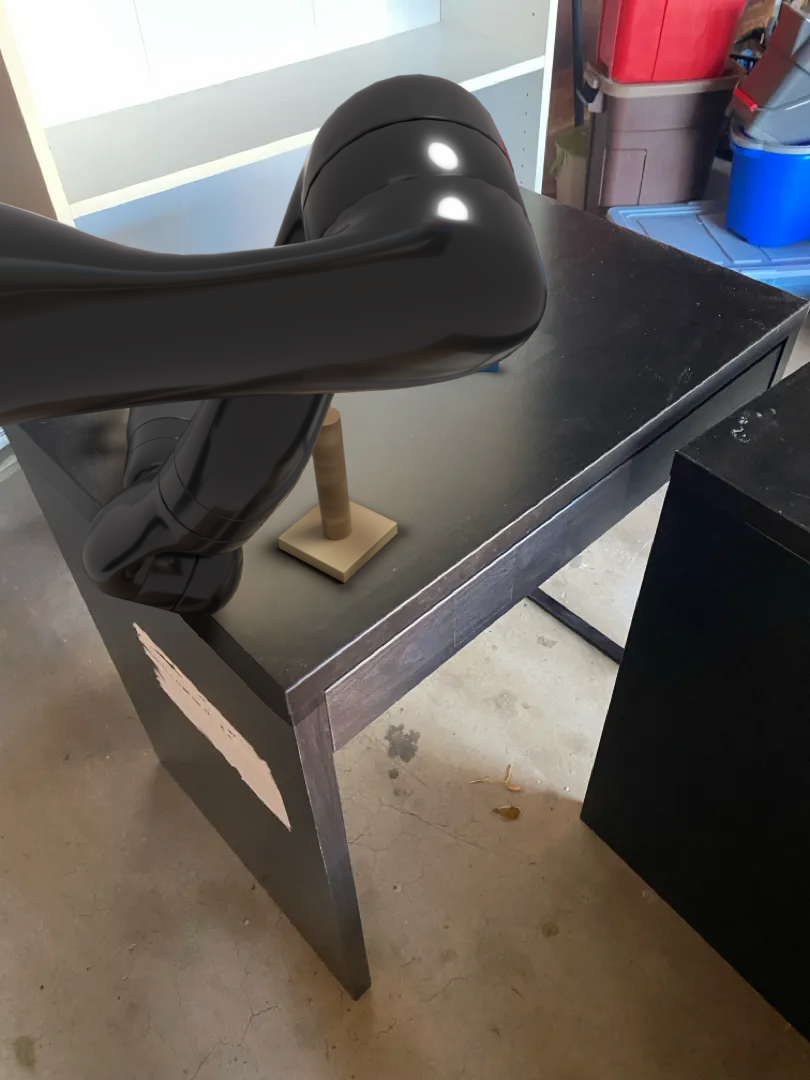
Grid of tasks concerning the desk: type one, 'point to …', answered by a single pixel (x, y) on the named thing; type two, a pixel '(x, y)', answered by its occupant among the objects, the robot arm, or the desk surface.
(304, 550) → the stand
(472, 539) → the desk surface
